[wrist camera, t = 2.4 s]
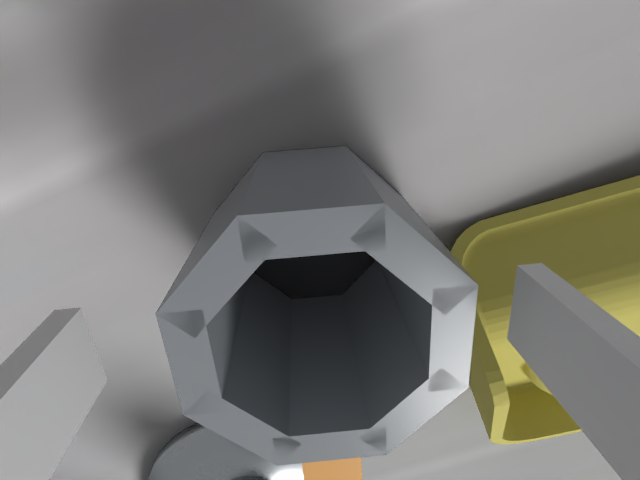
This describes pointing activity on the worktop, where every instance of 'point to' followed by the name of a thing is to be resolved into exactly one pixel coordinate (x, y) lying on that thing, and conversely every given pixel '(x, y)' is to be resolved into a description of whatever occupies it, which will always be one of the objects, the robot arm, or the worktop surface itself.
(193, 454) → the duct stub
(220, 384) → the grey octagonal holder
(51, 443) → the robot arm
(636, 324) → the plastic component
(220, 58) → the worktop surface
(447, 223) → the worktop surface
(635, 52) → the worktop surface
